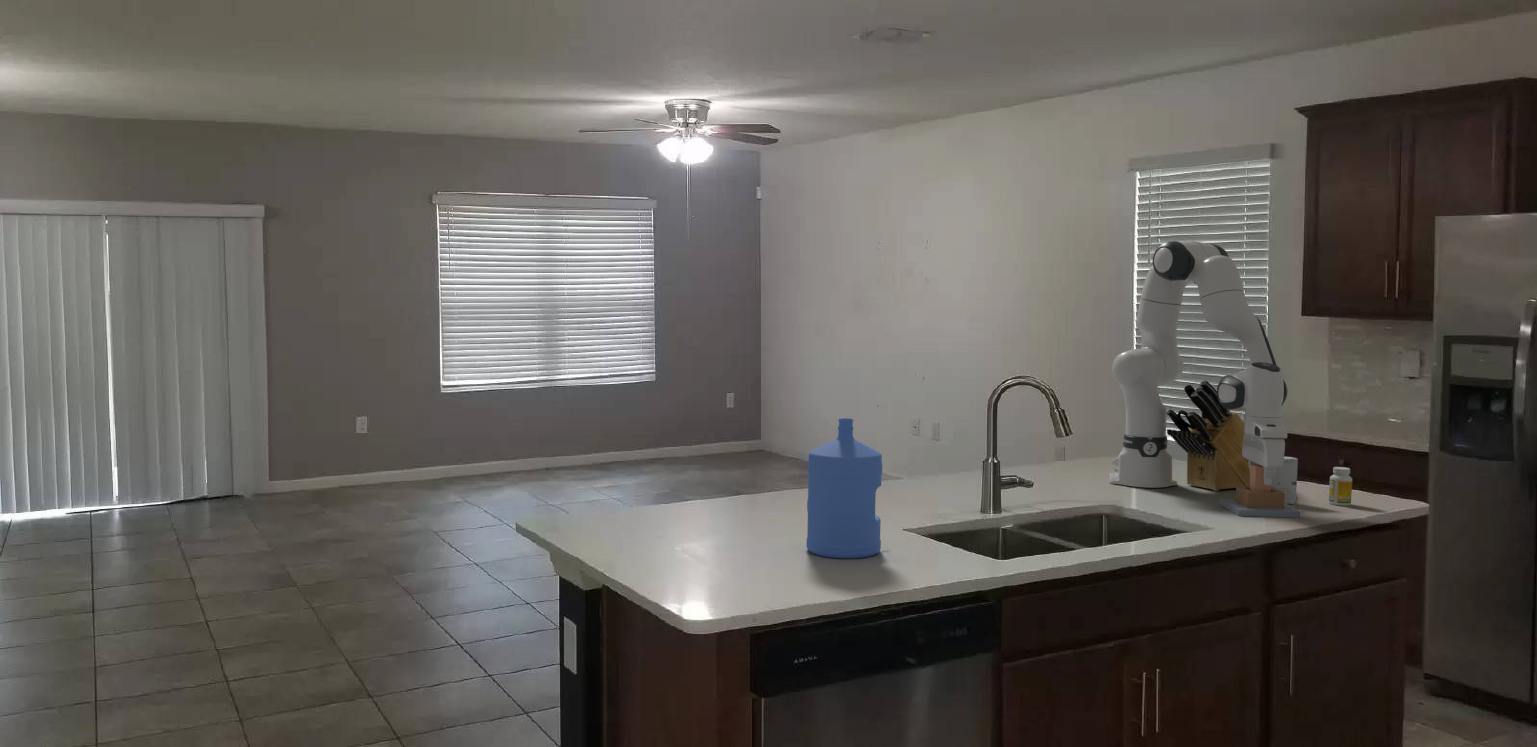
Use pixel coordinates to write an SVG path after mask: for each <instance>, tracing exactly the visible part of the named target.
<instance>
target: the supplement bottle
mask: <svg viewBox="0 0 1537 747" xmlns="http://www.w3.org/2000/svg"><path fill="white" fill-rule="evenodd" d="M1332 472H1333V474H1332V475H1330V477H1329V488H1328V503H1329V504H1330V505H1333V506H1339V507H1341V506H1342V507H1343V506H1345V507H1347V506H1348V507H1349V506H1351V505H1352V494H1353V493H1352V491H1353V490H1352V489H1353V477H1351V476H1350V474H1351V468H1350V467H1344V466H1333V469H1332Z"/></svg>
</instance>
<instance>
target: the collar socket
mask: <svg viewBox="0 0 1537 747" xmlns="http://www.w3.org/2000/svg"><path fill="white" fill-rule="evenodd" d="M1284 500H1285V493H1284V492H1281V491H1279V490H1277V489H1275V488H1273V487H1271V492H1260V491H1250V490H1249V486H1236V488H1235V499H1234V498H1232V499H1231V498H1220V500H1219V505H1220V506H1222V507H1223V508H1224V509H1226V510H1228V511H1230V512H1231V513H1233V514H1234V515H1236V516H1239V517H1267V518H1298V519H1299V518H1301V516H1302V515H1301V514H1302V511H1300V510H1299V509H1296V508H1295V507H1292V506H1290V505H1289V504H1285V503H1284Z"/></svg>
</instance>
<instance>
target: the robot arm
mask: <svg viewBox="0 0 1537 747" xmlns="http://www.w3.org/2000/svg"><path fill="white" fill-rule="evenodd" d="M1229 256H1230V255H1229V254H1228V252H1227V251H1226V250H1225V249H1224V248H1223V247H1221V246H1220V245H1217V244H1214V243H1206V242H1201V241H1194V240H1193V241H1177V240H1172V241H1166V242H1163V243H1162V244H1159V246H1157V248H1156V249H1155V251H1154V253H1153V257H1152V265H1151V266H1150V268H1149V270H1148V272H1147V274H1146V277H1145V279H1144V282H1143V285H1142V290H1141V295H1140V299H1139V300H1140V301H1139V304H1138V310H1137V316H1136V321H1135V325H1136V328H1137V329H1138V331H1139V333H1140V338H1141V347H1140V348H1133V349H1129V350H1127V351H1123V352H1121V353H1120V354H1118V355H1116V357H1115V358H1114V360H1113V361H1112V365H1111V372H1112V376H1113V378H1114V379H1115V381H1116V383H1118V385H1119V386H1120V389H1121V392H1122V395H1123V400H1124V404H1125V405H1124V406H1125V433H1124V435H1123V438H1122V446H1123V447H1122V449H1121V451H1120V453H1119V455H1118V457H1115V458H1113V459H1112V461H1111V462H1112V463H1111V466H1112V467H1113V468H1114V472H1109V476H1108V478H1109V483H1110V484H1113V485H1120V486H1121V485H1123V486H1129V487H1136V488H1148V489H1149V488H1150V489H1151V488H1153V489H1154V488H1155V489H1156V488H1159V489H1160V488H1167V487H1171V486H1177V485H1179V484H1178V481H1177V480H1174V479H1173V456H1172V455H1171V454H1170V453H1169V452H1168V450H1167V449H1168V436H1167V418H1168V417H1167V416H1168V415H1167V414H1166V412H1167V411H1168V410H1167V407H1166V406H1165V405H1164V404H1163V402H1162V400H1161V397H1160V393H1159V387H1164V386H1167V385H1169V384H1172V383H1174V382H1176V381H1178V379H1179V378H1181V376H1182V374H1183V372H1184V362H1183V359H1182V357H1181V355H1180V354H1179V350H1178V342H1177V332H1178V324H1179V318H1180V312H1181V307H1182V302H1183V295H1184V291H1185V288H1186V287H1187V286H1188V285H1189V284H1191V283H1194V284H1195V285H1196V286H1197V289H1198V294H1199V301H1200V307H1201V312H1202V314H1203V317H1204V319H1205V321H1206V322H1207V323H1208V324H1209V326H1211V327H1213V328H1214V329H1215V330H1218V331H1219V332H1223V333H1226V334H1227V335H1230V336H1232V337H1234V338H1236V339H1237V340H1238V341H1239V342H1241V344H1243V346H1244V347H1245V350H1246V352H1247V356H1248V358H1249V361H1250V364H1249V365H1248V366H1247V368H1245V369H1243V370H1241V371H1238V372H1234V373H1231V374H1227V375H1224V376H1223V377H1221V379H1220V380H1219V382H1218V384H1217V386H1216V391H1217V397H1218V400H1219V402H1220V404H1221V405H1222V406H1223V407H1224V408H1225V409H1229V410H1230V411H1232V412H1233V411H1244V421H1243V422H1244V436H1243V445H1242V456H1243V458H1245V459H1248V460H1249V461H1248V464H1249V469H1250V465H1258V464H1259V465H1261V466H1263V467H1264V471H1265V472H1264V477H1263V481H1262V483H1263V484H1265V485H1271V484H1272V477H1273V474H1274V469H1281V467H1282V465H1283V461H1284V457H1285V452H1286V451H1285V449H1286V442H1285V439H1287V438H1288V430H1287V428H1286V427H1285V425H1284V422H1283V412H1282V406H1283V405H1284V404H1285V402H1286V400H1287V397H1288V386H1287V384H1286V381H1285V379H1284V375H1283V372H1282V369H1281V368H1280V366H1278V365H1277V363H1276V359H1275V356H1274V354H1273V351H1272V348H1271V345H1270V342H1269V339H1268V337H1267V333H1266V331H1265V328H1264V326H1263V323H1262V321H1261V320H1260V318H1259V317H1258V316H1257V315H1255V313H1254V312H1253V310H1252V309H1251V307H1250V306H1249V303H1248V301H1247V299H1246V294H1245V290H1244V286H1243V281H1242V278H1241V275H1240V273H1239V270H1238V267H1237V265H1236V263H1235V260H1233V259H1232V258H1231V257H1229Z"/></svg>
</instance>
